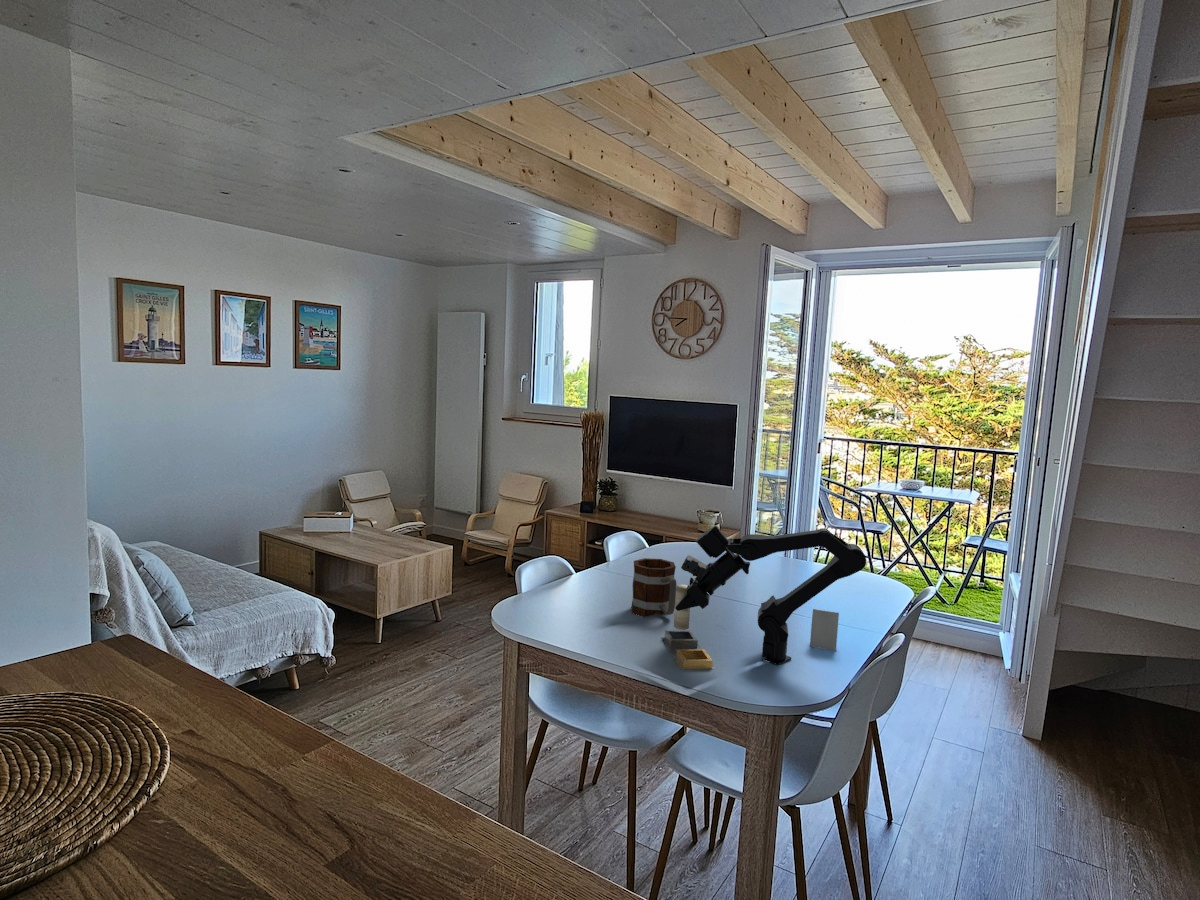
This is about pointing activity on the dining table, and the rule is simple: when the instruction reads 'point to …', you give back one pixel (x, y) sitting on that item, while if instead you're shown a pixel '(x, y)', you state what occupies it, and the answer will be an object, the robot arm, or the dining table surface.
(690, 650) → the grey socket board
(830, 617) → the beige rectangular block
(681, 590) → the peg
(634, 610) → the mug
